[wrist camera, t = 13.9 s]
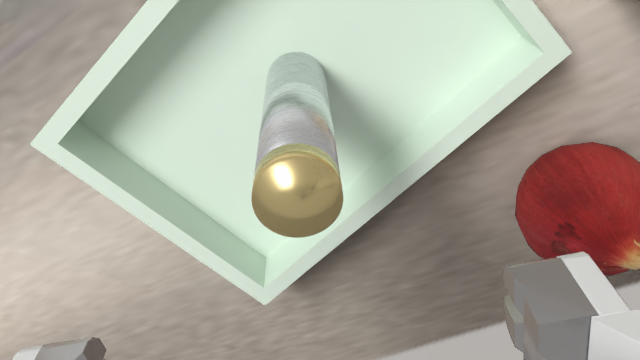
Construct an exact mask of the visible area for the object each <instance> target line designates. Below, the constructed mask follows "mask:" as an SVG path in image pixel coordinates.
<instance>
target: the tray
mask: <svg viewBox="0 0 640 360" xmlns="http://www.w3.org/2000/svg"><path fill="white" fill-rule="evenodd" d="M289 52H303V53H306V54H309V55H311V56H313V57H314V58H315V59H316V60H317V61H318V62H319V63H320V64H321V66H322V67H323V69H324V72H325V77H326V83H327V90H328V97H329V103H330V110H331V117H332V123H333V130H334V137H335V143H336V150H337V157H338V163H339V170H340V177H341V183H342V190H343V206H342V209H341V212H340V214H339V216H338V217H337V219H336V220H335V221H334V223H333V224H332V225H330V226H329V227H328V228H327V229H325V230H324V231H322V232H320V233H318V234H315V235H312V236H308V237H301V238H294V237H286V236H282V235H279V234H277V233H274V232H273V231H271V230H269V229H268V228H266V227H265V226H264V225H263V224H262V223H261V222H260V221H259V220H258V218H257V217H256V215H255V213H254V210H253V207H252V201H251V197H252V188H253V180H254V172H255V165H256V157H257V149H258V142H259V134H260V126H261V119H262V111H263V103H264V96H265V88H266V80H267V74H268V71H269V68H270V66H271V65H272V63H273V62H274V61H275V60H276V59H277V58H278V57H280V56H281V55H283V54H286V53H289ZM571 53H572V51H571V50H570V49H569V47H568V46H567V45H566V44H565V42H564V41H563V40H562V38H561V37H560V36H559V34H558V33H557V32H556V31H555V29H554V28H553V27H552V25H551V24H550V23H549V22H548V20H547V19H546V18H545V16H544V15H543V14H542V13H541V11H540V10H539V9H538V7H537V6H536V5H535V4H534V2H533V1H532V0H148V1H147V2H146V3H145V4H144V5H143V7H142V8H141V9H140V10H139V12H138V13H137V14H136V15H135V16H134V18H133V19H132V20H131V21H130V23H129V24H128V25H127V26H126V27H125V29H124V30H123V31H122V32H121V34H120V35H119V36H118V37H117V38H116V40H115V41H114V42H113V43H112V45H111V46H110V47H109V48H108V49H107V51H106V52H105V53H104V54H103V55H102V57H101V58H100V59H99V60H98V62H97V63H96V64H95V65H94V66H93V68H92V69H91V70H90V71H89V73H88V74H87V75H86V76H85V77H84V79H83V80H82V81H81V82H80V84H79V85H78V86H77V87H76V88H75V90H74V91H73V92H72V93H71V94H70V96H69V97H68V98H67V99H66V101H65V102H64V103H63V104H62V105H61V107H60V108H59V109H58V110H57V112H56V113H55V114H54V115H53V116H52V118H51V119H50V120H49V121H48V123H47V124H46V125H45V126H44V127H43V129H42V130H41V131H40V132H39V134H38V135H37V136H36V137H35V138H34V140H33V141H32V142H31V143H30V145H31V146H33V147H34V148H36V149H37V150H39V151H40V152H42V153H43V154H45V155H46V156H48V157H49V158H50V159H52V160H53V161H55V162H56V163H58V164H59V165H61V166H62V167H64V168H65V169H67V170H68V171H69V172H71V173H72V174H74V175H75V176H77V177H78V178H80V179H81V180H83V181H84V182H85V183H87V184H88V185H90V186H91V187H93V188H94V189H96V190H97V191H99V192H100V193H102V194H103V195H104V196H106V197H107V198H109V199H110V200H112V201H113V202H115V203H116V204H118V205H119V206H121V207H122V208H123V209H125V210H126V211H128V212H129V213H131V214H132V215H134V216H135V217H137V218H138V219H140V220H141V221H142V222H144V223H145V224H147V225H148V226H150V227H151V228H153V229H154V230H156V231H157V232H159V233H160V234H161V235H163V236H164V237H166V238H167V239H169V240H170V241H172V242H173V243H175V244H176V245H178V246H179V247H180V248H182V249H183V250H185V251H186V252H188V253H189V254H191V255H192V256H194V257H195V258H197V259H198V260H199V261H201V262H202V263H204V264H205V265H207V266H208V267H210V268H211V269H213V270H214V271H215V272H217V273H218V274H220V275H221V276H223V277H224V278H226V279H227V280H229V281H230V282H232V283H233V284H234V285H236V286H237V287H239V288H240V289H242V290H243V291H245V292H246V293H248V294H249V295H251V296H252V297H253V298H255V299H256V300H258V301H259V302H261V303H262V304H264V305H266V304H268V303H269V302H270V301H271V300H272V299H274V298H275V297H276V296H277V295H278V294H280V293H281V292H282V291H283V290H285V289H286V288H287V287H288V286H289V285H291V284H292V283H293V282H294V281H295V280H297V279H298V278H299V277H300V276H302V275H303V274H304V273H305V272H306V271H308V270H309V269H310V268H311V267H312V266H314V265H315V264H316V263H317V262H319V261H320V260H321V259H322V258H323V257H325V256H326V255H327V254H328V253H329V252H331V251H332V250H333V249H334V248H336V247H337V246H338V245H339V244H340V243H342V242H343V241H344V240H345V239H346V238H348V237H349V236H350V235H351V234H353V233H354V232H355V231H356V230H357V229H359V228H360V227H361V226H362V225H363V224H365V223H366V222H367V221H368V220H370V219H371V218H372V217H373V216H374V215H376V214H377V213H378V212H379V211H380V210H382V209H383V208H384V207H385V206H386V205H388V204H389V203H390V202H391V201H393V200H394V199H395V198H396V197H397V196H399V195H400V194H401V193H402V192H403V191H405V190H406V189H407V188H408V187H410V186H411V185H412V184H413V183H414V182H416V181H417V180H418V179H419V178H420V177H422V176H423V175H424V174H425V173H427V172H428V171H429V170H430V169H431V168H433V167H434V166H435V165H436V164H437V163H439V162H440V161H441V160H442V159H444V158H445V157H446V156H447V155H448V154H450V153H451V152H452V151H453V150H454V149H456V148H457V147H458V146H459V145H461V144H462V143H463V142H464V141H465V140H467V139H468V138H469V137H470V136H471V135H473V134H474V133H475V132H476V131H478V130H479V129H480V128H481V127H482V126H484V125H485V124H486V123H487V122H488V121H490V120H491V119H492V118H493V117H495V116H496V115H497V114H498V113H499V112H501V111H502V110H503V109H504V108H505V107H507V106H508V105H509V104H510V103H511V102H513V101H514V100H515V99H516V98H518V97H519V96H520V95H521V94H522V93H524V92H525V91H526V90H527V89H528V88H530V87H531V86H532V85H533V84H535V83H536V82H537V81H538V80H539V79H541V78H542V77H543V76H544V75H545V74H547V73H548V72H549V71H550V70H552V69H553V68H554V67H555V66H556V65H558V64H559V63H560V62H561V61H562V60H564V59H565V58H566V57H567V56H569V55H570V54H571Z"/></svg>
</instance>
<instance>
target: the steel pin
mask: <svg viewBox="0 0 640 360" xmlns="http://www.w3.org/2000/svg"><path fill="white" fill-rule="evenodd" d="M251 201H252V207H253V210H254V213H255V215H256V217H257V218H258V220H259V221H260V222H261V223H262V224H263V225H264V226H265V227H266V228H268V229H269V230H271V231H273V232H274V233H277V234H279V235H282V236H286V237H294V238H301V237H308V236H312V235H315V234H318V233H320V232H322V231H324V230H325V229H327V228H328V227H329V226H330V225H332V224H333V223H334V221H335V220H336V219H337V217H338V216H339V214H340V212H341V209H342V206H343V190H342V183H341V177H340V170H339V163H338V157H337V150H336V143H335V137H334V130H333V123H332V117H331V110H330V103H329V97H328V90H327V83H326V77H325V72H324V69H323V67H322V66H321V64H320V63H319V62H318V61H317V60H316V59H315V58H314V57H313V56H311V55H309V54H306V53H303V52H289V53H286V54H283V55H281V56H280V57H278V58H277V59H276V60H275V61H274V62H273V63H272V65H271V66H270V68H269V71H268V74H267V80H266V88H265V96H264V103H263V111H262V119H261V126H260V134H259V142H258V149H257V157H256V165H255V172H254V180H253V188H252V197H251Z"/></svg>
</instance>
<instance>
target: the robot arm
mask: <svg viewBox="0 0 640 360" xmlns="http://www.w3.org/2000/svg"><path fill="white" fill-rule="evenodd" d="M503 283H504V285H505V287H506V289H507V291H508V294H507V296H506V297H505V298H504V299H503V300H504V314H505V319H506V324H507V327H508V330H509V334H510V337H511V339H512V341H513V343H514V345H515V348H517V349H518V350H520V351H522V352H523V353H524V360H640V309H637V310H631V309H630V308H629V307H628V306H627V304H626V303H625V302H624V300H623V299H622V298H621V297H620V295H619V294H618V292H617V291H616V290H615V289H614V287H613V286H612V285H611V283H610V282H609V281H608V279H607V278H606V277H605V275H604V274H603V273H602V272H601V270H600V269H599V268H598V266H597V265H596V264H595V262H594V261H593V260H592V258H591V257H590V256H589V255H588V254H587V253H585V252H578V253H573V254H567V255H562V256H557V257H556V258H555V257H553V258H548V259H542V260H537V261H531V262H526V263H520V264H515V265H509V266H504V270H503ZM105 352H106V348H105V347H104V345H103V343H102V342H101V340H100V339H99V338H94V337H91V338H85V339H78V340H71V341H64V342H57V343H51V344H46V345H41V346H34V347H27V348H23V349H21V350H20V351H19V352H17V353H16V354H15V356H14V358H13V360H105V359H103V358H104V355H105Z"/></svg>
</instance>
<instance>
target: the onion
mask: <svg viewBox="0 0 640 360" xmlns="http://www.w3.org/2000/svg"><path fill="white" fill-rule="evenodd" d="M515 216H516V219H517V221H518V224H519V227H520V229H521V231H522V233H523V235H524V237H525V239H526V241H527V243H528V245H529V246H530V248H531V249H532V250H533V251H534V252H535V253H536V254H537V255H539V256H540V257H542V258H544V259H548V258H553V257H555V258H556V257H557V256H562V255H567V254H573V253H578V252H585V253H587V254H588V255H589V256H590V257H591V258H592V260H593V261H594V262H595V264H596V265H597V266H598V268H599V269H600V270H601V272H602V273H603V274H604V275H614V274H618V273H622V272H625V271H628V270H629V269H632V270H640V162H638V161H637V160H636V159H634V158H633V157H631V156H630V155H629V154H627V153H625V152H624V151H622V150H620V149H619V148H617V147H613V146H608V145H603V144H599V143H594V142H590V143H582V144H574V145H566V146H561V147H559V148H556V149H554V150H552V151H550V152H548V153H546V154H544V155H542V156H541V157H540V158H538V159H537V160H536V161H535V162H534V163H533V164H532V165H531V166H530V167H529V168H528V169H527V170H526V172H525V174H524V176H523V178H522V180H521V182H520V184H519V186H518V191H517V197H516V211H515Z"/></svg>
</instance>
